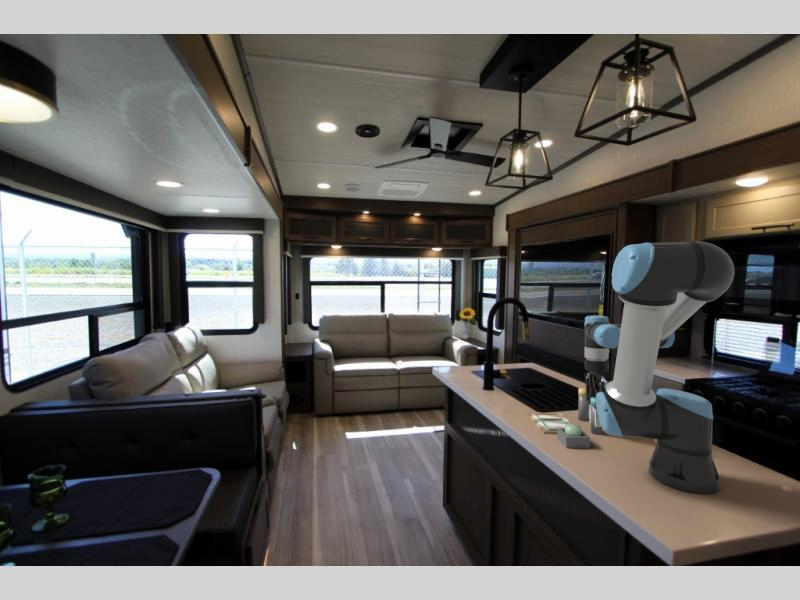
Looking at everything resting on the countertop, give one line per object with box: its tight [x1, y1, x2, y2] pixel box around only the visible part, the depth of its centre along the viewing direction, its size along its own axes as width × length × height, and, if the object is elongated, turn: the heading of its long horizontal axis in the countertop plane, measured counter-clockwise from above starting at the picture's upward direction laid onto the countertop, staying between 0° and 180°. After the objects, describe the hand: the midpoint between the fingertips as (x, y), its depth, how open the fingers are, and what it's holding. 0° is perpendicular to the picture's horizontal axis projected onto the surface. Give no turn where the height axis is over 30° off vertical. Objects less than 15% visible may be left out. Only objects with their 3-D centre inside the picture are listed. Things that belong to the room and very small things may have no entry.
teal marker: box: [590, 397, 603, 435], centre depth 127 cm, size 4×4×12 cm
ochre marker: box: [577, 387, 590, 422], centre depth 140 cm, size 4×4×12 cm
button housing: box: [556, 428, 591, 449], centre depth 119 cm, size 8×8×4 cm
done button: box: [565, 423, 583, 436], centre depth 119 cm, size 5×5×4 cm
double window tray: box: [528, 412, 573, 435], centre depth 136 cm, size 18×13×1 cm
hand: (596, 424), depth 128 cm, fingers closed on teal marker, 3 cm apart
